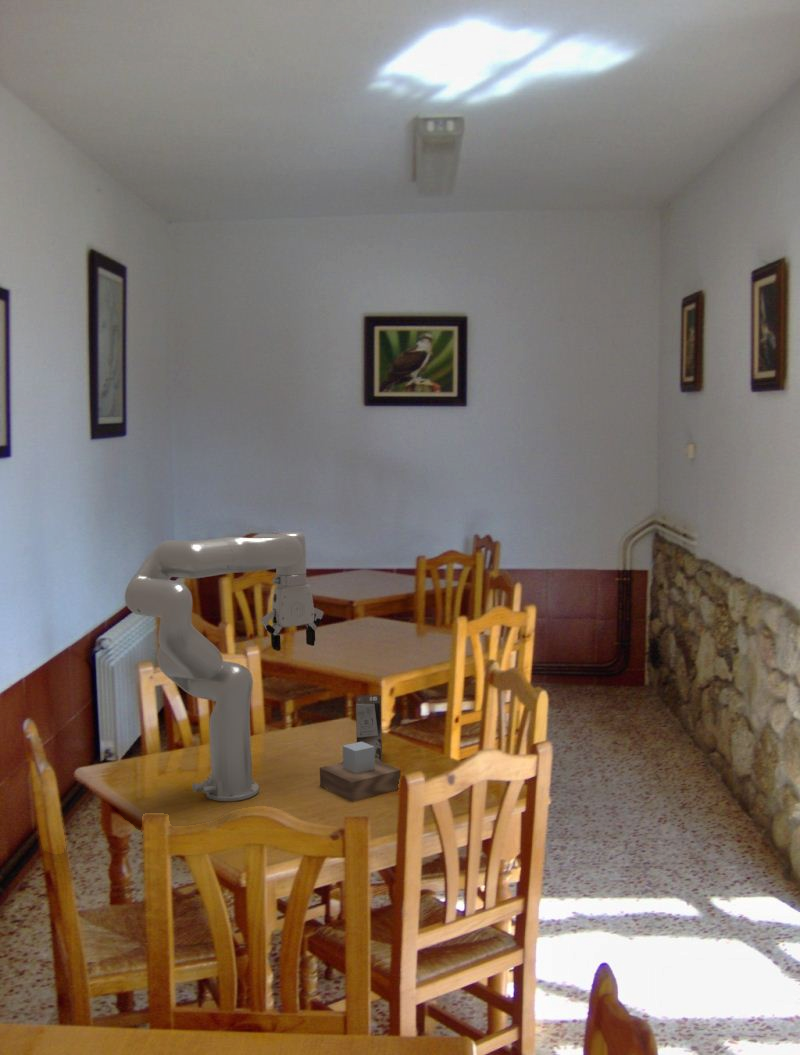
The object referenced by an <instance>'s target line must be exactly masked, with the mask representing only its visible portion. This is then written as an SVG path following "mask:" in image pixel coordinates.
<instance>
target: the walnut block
mask: <svg viewBox="0 0 800 1055" xmlns="http://www.w3.org/2000/svg"><path fill="white" fill-rule="evenodd" d="M401 776H402V774H401V769H399V768H397V767H394V766H392V765H391V764H387V763H385V762H383V761H381V762H380V761H378V760H376V759H375V769H373V770H369V771H365V772H361V773H357V774H355V773H353V772H351V771H349V770H347V769H344V768H343V761H340V762H337V763H334V764H329V765H326V766H322V767H319V785H320V787H321V786H322V788H323V787H324V789H325V788H327V789H328V791H330V792H332V793H333V794H336V795H337V796H340V797H342V798H344V799H346V800H348V801H351V802H356V801H359V800H363V799H366V798H367V799H368V798H370V797H374V796H378V795H382V794H386V793H388V792H392V791H396V790H395V789H396V788H397V790H399V789H398V784H399V779H400V777H401ZM401 778H402V777H401ZM327 789H326V790H327ZM391 790H392V791H391ZM381 793H382V794H381Z"/></svg>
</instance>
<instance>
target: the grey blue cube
mask: <svg viewBox="0 0 800 1055" xmlns="http://www.w3.org/2000/svg"><path fill="white" fill-rule="evenodd" d="M342 762H343V768H344V769H347V770H349V771H351V772H353V773H355V774H357V773H361V772H365V771H369V770H373V769H375V749H374V746H372V745H369V744H367V743H364V742H357V741H356V742H353V743H349V744H345V745H342Z"/></svg>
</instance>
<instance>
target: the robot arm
mask: <svg viewBox="0 0 800 1055" xmlns="http://www.w3.org/2000/svg"><path fill="white" fill-rule="evenodd" d="M306 549H307V548H306V536H305V534H304V533H303V532H301V531H283V532H282V531H281V532H279V533H273V534H272V533H259V534H255V535H253V536H252V537H242V536H225V537H217V538H208V539H200V540H175V539H174V540H173V539H171V540H170V539H168V540H165V541H163V542H162V543H159V545H158V546H157V547H155V548H154V549H153V551H152V552H151V553H150V555H149V556H148V557H147V558H146V559H145V561H144V562H143V563H142V565H141V566H140V568H138V570H137V571H136V573H135V574H134V575H133V577H132V578H131V580H130V581H129V583H128V584H127V587H126V588H125V593H124V601H125V605H126V607H127V608H128V610H129V611H131V613H134V614H136V615H139V616H146V617H154V618H160V622H159V628H158V629H159V631H158V636H157V637H158V639H157V640H158V644H159V647H158V650H157V654H156V656H157V658H156V659H157V664H158V667H159V668H160V671H161V672H162V673H163V674H164V675H165V676H166V677H167V678H168V679H169V680H170V681H172V682H173V683H174V684H176V685H177V686H178V687H179V688H181V689H182V691H184V692H186V694H189V695H190V696H192V697H195V698H197V699H202V700H203V699H204V700H209V701H213V702H215V703H214V704H215V705H214V707H213V710H212V712H211V714H210V717H209V725H208V726H209V727H208V728H209V743H210V744H209V746H210V747H209V748H210V749H209V750H210V770H211V771H210V773H211V774H209V775H207V777H206V778H207V779H205V780H204V781H203V782H197V783H193V784H192V785H191V786H192V787H191V788H192V791H193V792H194V793H197V792H202V793H203V794H204V793H205V796H206V797H207V798H208V799H209V800H212V799H213V801H218V802H236V801H237V802H238V801H243V800H248V799H250V798H252V797H254V796H256V795H257V794H258V793H259V790H260V787H259V784H258V783H257V782H255V781H253V770H252V767H253V766H252V746H251V745H252V743H251V742H252V740H251V713H250V712H251V711H250V710H251V699H252V691H253V686H254V679H253V675H252V673H251V671H250V670H249V669H248V668H247V667H246V666H244V665H243V664H240V663H237V662H232V661H226V660H224V659H223V656H222V654H221V651H220V650H219V649H218V647H217V646H216V645H214V643H212V642H211V641H210V640H209V639H208V638H207V637H205V635H204V634H202V633H201V632H200V631H198V629H197V628H196V627H195V626H194V625H193V623H192V622H193V621H192V614H193V613H192V611H193V596H192V592H191V591H190V589H189V587H187V585H185V584H184V583H182V582H180V581H177V580H173V579H171V578H184V579H200V578H206V577H214V576H220V575H226V574H233V573H246V572H248V573H249V572H254V571H255V572H256V571H264V570H266V571H267V570H275V569H276V573H275V577H273V578H272V580H271V583H272V584H275V585H276V586H274V588H273V589H274V590H273V594H272V595H273V596H272V602H271V603H272V606H271V608H272V609H271V611H269V613H266V614H265V615H264V616H263V617H261V619H260V622H261V623H262V625H263V626H264V629H265V630H266V631H267V632H268V633H269V634H270V639H271V641H270V642H271V647H272V649H273V650H275V651H277V652H278V651H281V649H282V648H281V647H282V646H281V635H280V634H279V633H280V632H281V630H282V629H283V628H292V627H298V626H301V627H302V626H306V627H307V628H306V629H305V640H306V641H305V642H306V645H307V646H308V645H309V646H310V647H311V646H315V641H316V631H317V629H318V626H319V625H320V624H321V621H322V619H323V616H324V613H325V612H324V611H323V610H322V609H319V608H317V607H314V605H315V604H314V599H313V593H312V590H311V589H312V588H311V585H310V584H307V560H306V559H307V557H306V553H307V552H306V551H307V550H306ZM271 620H272V625H271V624H270V621H271Z"/></svg>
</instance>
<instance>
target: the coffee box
mask: <svg viewBox="0 0 800 1055" xmlns="http://www.w3.org/2000/svg"><path fill="white" fill-rule="evenodd" d="M355 716H356V717H355V718H356V725H355V726H356V727H355V728H356V729H355V730H356V743H357V742H364V743H367V744H369V745H372V746H374V749H375V759H376V760H378V761H380V762H382V759H383V758H382V757H383V731H382V730H383V728H382V725H383V724H382V721H383V720H382V695H381V694H369V695H368V694H367V695H357V697H356V701H355Z"/></svg>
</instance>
